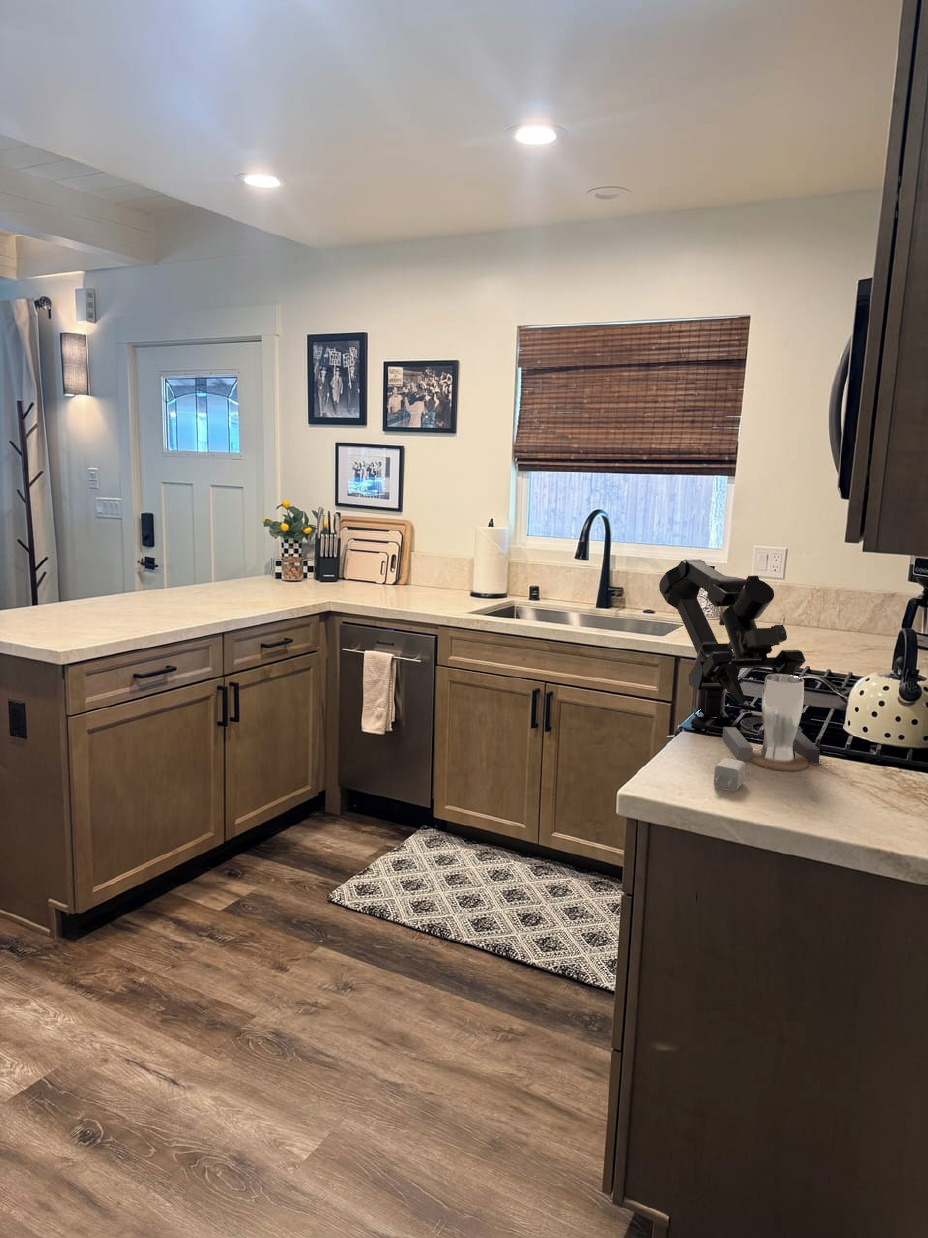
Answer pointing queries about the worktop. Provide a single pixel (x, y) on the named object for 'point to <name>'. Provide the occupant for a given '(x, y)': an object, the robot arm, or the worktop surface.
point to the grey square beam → (737, 743)
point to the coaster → (794, 766)
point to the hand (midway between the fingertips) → (766, 702)
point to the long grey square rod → (806, 747)
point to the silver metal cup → (781, 716)
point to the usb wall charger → (729, 774)
